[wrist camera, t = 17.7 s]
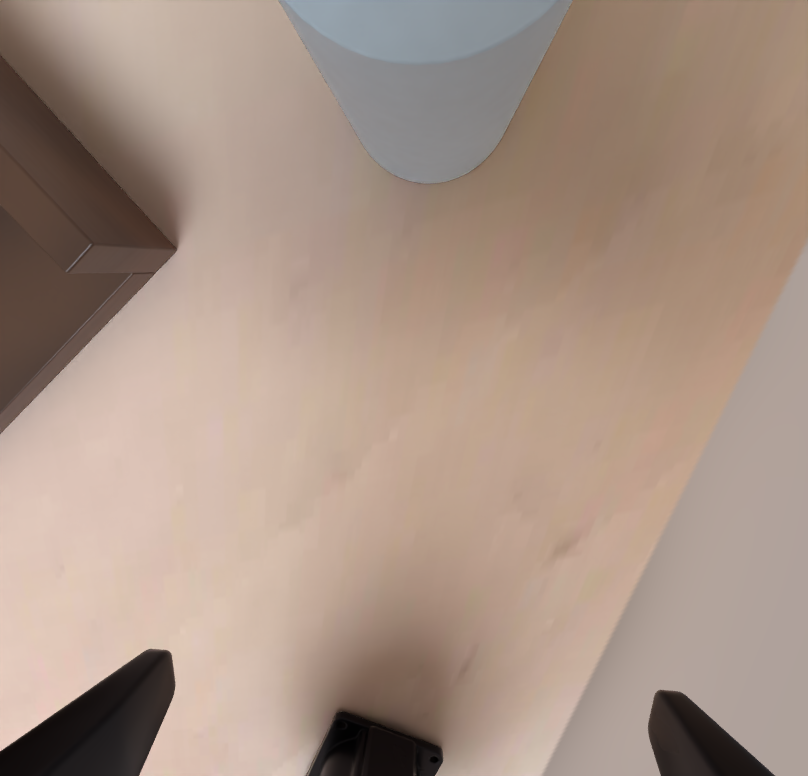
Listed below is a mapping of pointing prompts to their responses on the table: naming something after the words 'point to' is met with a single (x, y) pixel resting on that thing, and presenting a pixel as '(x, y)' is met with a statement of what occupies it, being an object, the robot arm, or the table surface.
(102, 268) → the tray
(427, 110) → the pale blue cylinder
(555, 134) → the table surface
